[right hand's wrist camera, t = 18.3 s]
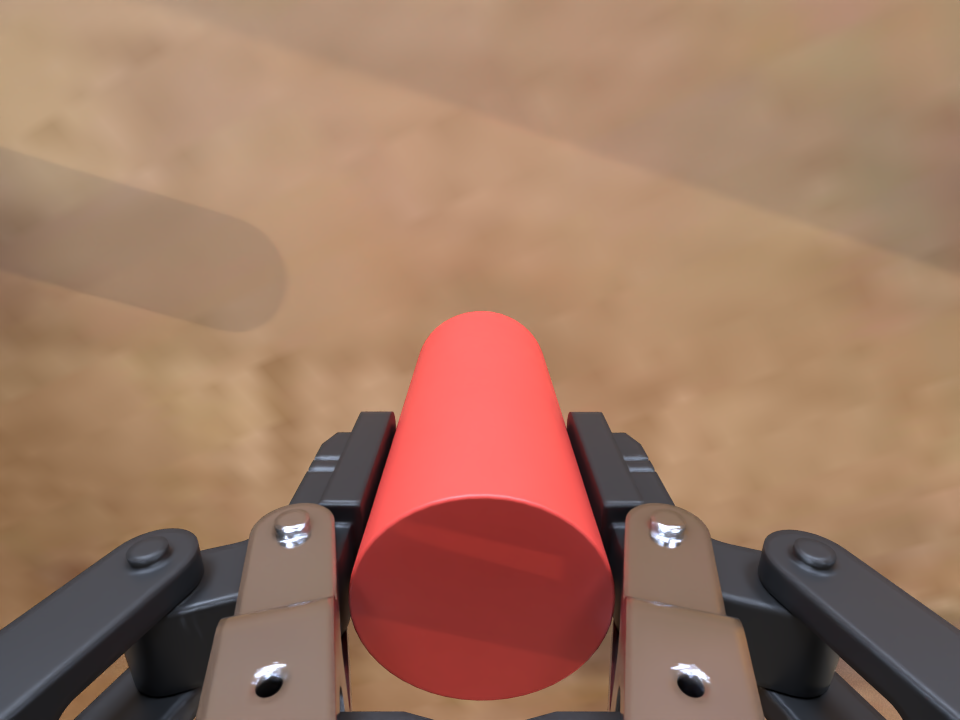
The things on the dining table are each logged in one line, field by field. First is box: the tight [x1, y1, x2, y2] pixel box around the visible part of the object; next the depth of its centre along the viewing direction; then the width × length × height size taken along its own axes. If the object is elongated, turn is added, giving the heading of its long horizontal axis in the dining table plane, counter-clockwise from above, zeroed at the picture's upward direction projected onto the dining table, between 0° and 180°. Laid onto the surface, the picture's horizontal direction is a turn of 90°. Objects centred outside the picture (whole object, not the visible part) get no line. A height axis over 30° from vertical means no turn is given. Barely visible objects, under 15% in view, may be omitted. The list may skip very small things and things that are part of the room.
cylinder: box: [348, 311, 615, 700], centre depth 12 cm, size 4×4×9 cm
